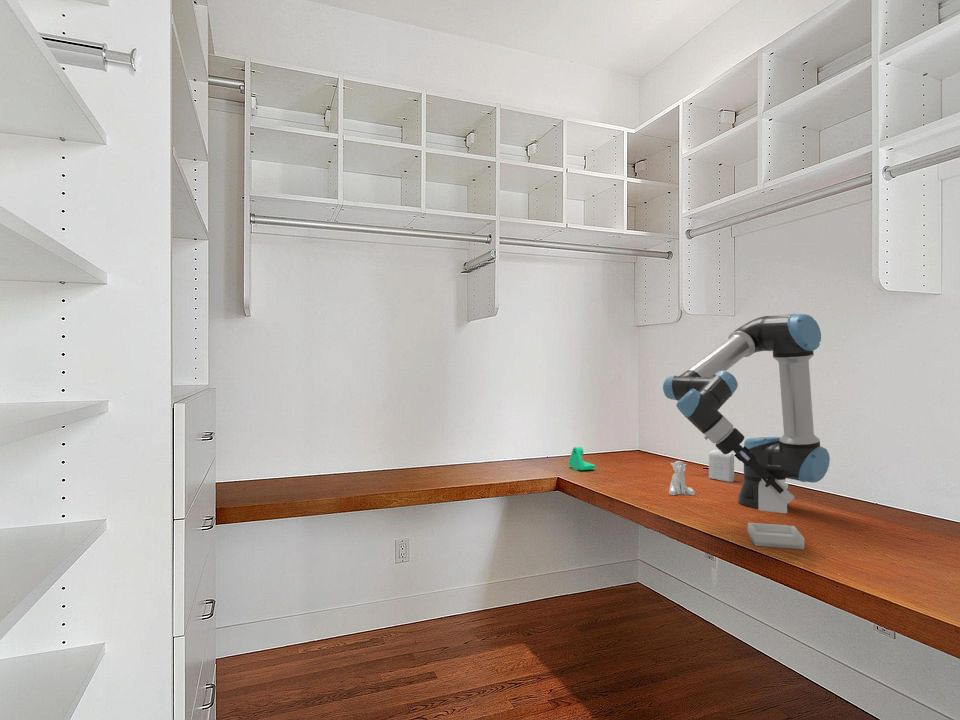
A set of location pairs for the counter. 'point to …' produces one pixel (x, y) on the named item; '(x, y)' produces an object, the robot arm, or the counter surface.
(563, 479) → the counter surface
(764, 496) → the medicine bottle
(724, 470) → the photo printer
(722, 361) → the robot arm
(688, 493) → the white creature statuette
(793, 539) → the grey square tray
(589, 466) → the green angular piece
